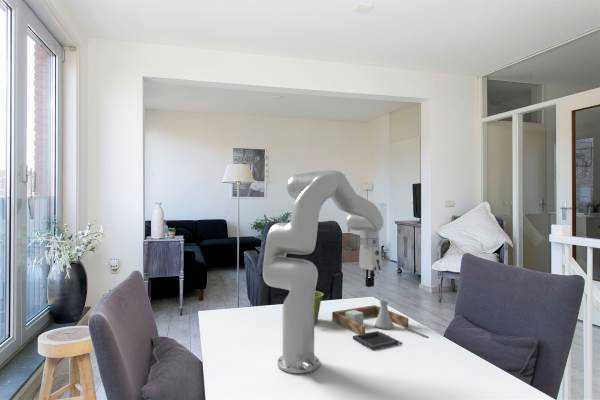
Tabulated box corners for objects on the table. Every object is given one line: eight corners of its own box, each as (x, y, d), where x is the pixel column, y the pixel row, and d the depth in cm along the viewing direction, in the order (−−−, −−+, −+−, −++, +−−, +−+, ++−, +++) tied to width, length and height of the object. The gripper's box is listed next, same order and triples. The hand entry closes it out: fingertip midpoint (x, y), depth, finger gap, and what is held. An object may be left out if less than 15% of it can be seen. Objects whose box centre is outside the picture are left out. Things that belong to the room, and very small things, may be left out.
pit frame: (398, 344, 128) (398, 340, 128) (372, 350, 123) (372, 346, 123) (377, 334, 138) (377, 330, 138) (352, 339, 133) (352, 335, 133)
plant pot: (324, 326, 147) (324, 297, 147) (293, 326, 147) (293, 297, 147) (322, 316, 158) (322, 290, 158) (294, 316, 159) (294, 290, 159)
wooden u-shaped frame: (408, 327, 145) (408, 318, 145) (362, 336, 135) (362, 327, 135) (375, 313, 164) (375, 305, 164) (332, 320, 154) (332, 311, 154)
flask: (388, 331, 141) (388, 304, 141) (371, 327, 146) (371, 301, 146) (396, 326, 147) (396, 300, 147) (379, 322, 151) (379, 297, 151)
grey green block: (363, 325, 148) (363, 312, 148) (354, 328, 145) (354, 315, 145) (354, 322, 152) (354, 309, 152) (345, 324, 149) (345, 312, 149)
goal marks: (428, 337, 135) (428, 336, 135) (399, 344, 129) (399, 342, 129) (406, 328, 144) (406, 327, 144) (379, 333, 138) (379, 332, 138)
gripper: (388, 243, 149) (388, 289, 150) (365, 239, 163) (366, 281, 163) (373, 244, 146) (373, 291, 146) (351, 240, 159) (351, 283, 159)
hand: (369, 286), depth 155 cm, fingers closed
